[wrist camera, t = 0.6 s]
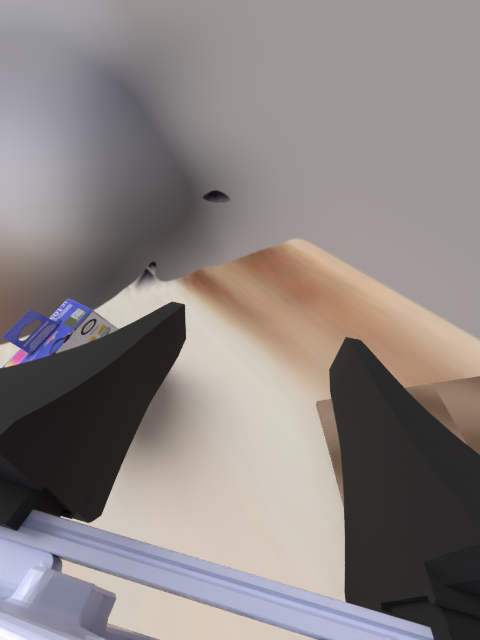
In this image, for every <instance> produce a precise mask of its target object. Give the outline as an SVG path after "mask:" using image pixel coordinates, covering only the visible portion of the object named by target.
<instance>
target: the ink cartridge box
mask: <svg viewBox="0 0 480 640" xmlns="http://www.w3.org/2000/svg"><path fill="white" fill-rule="evenodd" d="M35 320H40V321H41V325H40V326H39V327H38V328H37V329H36V330H35V331H34V332H33V333H32V334H31V335H30V336H29V337H28V338H27V339H26V340H24V341H20V340H18V337H19V335H20V333H21V331H22V330H23V328H24V327H25V326H26V325H28V324H30V323H31V322H33V321H35ZM116 330H119V329H118V328H116V327H115V326H114V325H112V324H111V323H109V322H108V321H107V320H105V319H104V318H103V317H101V316H100V315H98V314H97V313H96V312H94V311H93V310H92V309H90V308H88V307H86V306H83V305H82V304H80V303H78V302H75V301H73V300H70V299H67V300H66V301H65V302H64V303H63V304H62V305H61V306H60V307H59V308H58V309H57V310H56V311H55V313H54V314H53V315H52V316H51V317H50V318H47V317H45V316H43V315H41V314H39V313H37V312H35V311H34V310H30V311H29V312H28V313H27V314H26V315H25V316H24V317H23V318H22V319H21V320H20V321H19V322H18V323H17V324H16V325H15V326H13V327H12V328H11V329H10V330H9V331H8V332H7V333H6V334H5V335H4V336H3V337H2V338H4V339H5V340H8V341H10V342H11V343H13V344H15V345H16V346H18V347H19V348H21V349H20V350H19V351H18V352H17V353H16V354H15V355H14V356H13V357H12V358H11V359H10V360H9V361H8V362H7V363H6V364H5V366H4V367H9V366H13V365H17V364H21V363H24V362H28V361H32V360H36V359H39V358H43V357H46V356H50V355H53V354H56V353H59V352H62V351H65V350H68V349H71V348H74V347H77V346H80V345H83V344H86V343H88V342H91V341H93V340H96V339H98V338H101V337H103V336H106V335H108V334H110V333H112V332H114V331H116ZM4 367H2V368H4Z"/></svg>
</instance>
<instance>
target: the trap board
mask: <svg viewBox="0 0 480 640" xmlns="http://www.w3.org/2000/svg"><path fill="white" fill-rule="evenodd" d="M405 389H406V390H407V391H408V392H409V393H410V394H411V395H412V396H413V397H414V398H415V399H416V400H417V401H418V402H419V403H420V404H421V405H422V406H423V407H424V408H425V409H426V410H427V411H428V412H429V413H431V414H432V415H433V416H434V417H435V418H436V419H437V420H438V421H440V422H441V423H442V424H443V425H444V426H445V427H446V428H447V429H449V430H450V431H451V432H452V433H453V434H455V435H456V436H457V437H458V438H459V439H461V440H462V441H463V442H464V443H465V444H467V445H468V446H469V447H471V448H472V449H473V450H474V451H476V452H477V453H478V454H479V455H480V376H479V377H472V378H466V379H459V380H453V381H446V382H440V383H433V384H427V385H420V386H414V387H407V388H405ZM316 405H317V409H318V413H319V417H320V420H321V424H322V428H323V431H324V435H325V439H326V443H327V446H328V450H329V454H330V457H331V461H332V465H333V468H334V472H335V476H336V480H337V483H338V487H339V491H340V494H341V498H342V502H343V506H344V494H343V476H342V462H341V451H340V443H339V437H338V432H337V426H336V421H335V415H334V410H333V404H332V399H329V400H323V401H317V403H316Z"/></svg>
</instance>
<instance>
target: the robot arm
mask: <svg viewBox="0 0 480 640" xmlns="http://www.w3.org/2000/svg"><path fill="white" fill-rule="evenodd" d="M185 340H186V325H185V304H181V303H176V302H171V303H168V304H167V305H165V306H163V307H161V308H159V309H157V310H155V311H154V312H152V313H150V314H148V315H146V316H144V317H142V318H141V319H139V320H137V321H135V322H133V323H131V324H129V325H127V326H125V327H123V328H121V329H119V330H116V331H114V332H112V333H110V334H108V335H106V336H103V337H101V338H98V339H96V340H93V341H91V342H88V343H86V344H83V345H80V346H77V347H74V348H71V349H68V350H65V351H62V352H59V353H56V354H53V355H50V356H46V357H43V358H39V359H36V360H32V361H28V362H24V363H21V364H17V365H13V366H9V367H4V368H0V640H159V639H156V638H153V637H149V636H146V635H143V634H140V633H137V632H134V631H130V630H127V629H124V628H121V627H118V626H114V625H111V624H108V623H107V621H108V617H109V615H110V612H111V610H112V607H113V605H114V602H115V600H116V595H115V594H114V593H112V592H109V591H107V590H104V589H102V588H100V587H97V586H96V585H95V584H92V583H89V582H86V581H83V580H80V579H77V578H75V577H72V576H69V575H66V574H63V573H61V570H62V561H61V559H63V560H66V561H69V562H72V563H76V564H79V565H82V566H85V567H88V568H92V569H95V570H98V571H101V572H104V573H107V574H111V575H114V576H117V577H120V578H123V579H127V580H130V581H133V582H136V583H139V584H142V585H146V586H149V587H152V588H155V589H158V590H162V591H165V592H168V593H171V594H174V595H178V596H181V597H184V598H187V599H190V600H193V601H197V602H200V603H203V604H206V605H209V606H213V607H216V608H219V609H222V610H225V611H229V612H232V613H235V614H238V615H241V616H244V617H248V618H251V619H254V620H257V621H260V622H264V623H267V624H270V625H273V626H276V627H280V628H283V629H286V630H289V631H292V632H295V633H299V634H302V635H305V636H308V637H311V638H315V639H318V640H480V455H479V454H478V453H477V452H476V451H474V450H473V449H472V448H471V447H469V446H468V445H467V444H465V443H464V442H463V441H462V440H461V439H459V438H458V437H457V436H456V435H455V434H453V433H452V432H451V431H450V430H449V429H447V428H446V427H445V426H444V425H443V424H442V423H441V422H440V421H438V420H437V419H436V418H435V417H434V416H433V415H432V414H431V413H429V412H428V411H427V410H426V409H425V408H424V407H423V406H422V405H421V404H420V403H419V402H418V401H417V400H416V399H415V398H414V397H413V396H412V395H411V394H410V393H409V392H408V391H407V390H406V389H405V388H404V387H403V386H402V385H401V384H400V383H399V382H398V381H397V380H396V379H395V377H394V376H393V375H392V374H391V373H390V372H389V371H388V370H387V369H386V368H385V366H384V365H383V364H382V363H381V362H380V361H379V360H378V359H377V357H376V356H375V355H374V354H373V353H372V352H371V351H370V350H369V348H368V347H367V346H366V345H365V344H364V343H363V342H362V341H361V340H358V339H353V338H348V337H346V338H345V340H344V342H343V344H342V346H341V348H340V350H339V352H338V354H337V356H336V358H335V360H334V362H333V364H332V365H331V367H330V369H329V371H330V392H331V398H332V404H333V410H334V415H335V421H336V426H337V432H338V437H339V443H340V451H341V462H342V476H343V494H344V520H345V599H346V602H343V601H340V600H336V599H333V598H330V597H326V596H323V595H319V594H316V593H313V592H309V591H306V590H303V589H299V588H296V587H293V586H289V585H286V584H282V583H279V582H276V581H272V580H269V579H266V578H262V577H259V576H256V575H252V574H249V573H246V572H242V571H239V570H235V569H232V568H229V567H225V566H222V565H219V564H215V563H212V562H209V561H205V560H202V559H198V558H195V557H192V556H188V555H185V554H182V553H178V552H175V551H172V550H168V549H165V548H161V547H158V546H155V545H151V544H148V543H145V542H141V541H138V540H135V539H131V538H128V537H124V536H121V535H118V534H114V533H111V532H108V531H104V530H101V529H98V528H94V527H91V526H88V525H84V524H81V523H77V522H74V521H71V520H67V519H64V518H61V517H60V516H63V517H66V518H70V519H72V518H73V519H77V520H80V521H84V522H87V523H89V522H92V521H94V520H95V519H97V518H98V517H99V516H101V515H102V512H103V510H104V507H105V504H106V502H107V499H108V497H109V494H110V492H111V489H112V487H113V484H114V482H115V479H116V477H117V474H118V472H119V470H120V467H121V465H122V463H123V460H124V458H125V456H126V453H127V451H128V449H129V446H130V444H131V442H132V440H133V438H134V435H135V433H136V431H137V429H138V427H139V425H140V423H141V420H142V418H143V416H144V414H145V412H146V410H147V408H148V406H149V404H150V402H151V400H152V399H153V397H154V395H155V394H156V392H157V390H158V389H159V387H160V385H161V384H162V382H163V381H164V379H165V377H166V376H167V374H168V372H169V371H170V369H171V367H172V366H173V364H174V363H175V361H176V359H177V357H178V356H179V353H180V351H181V349H182V347H183V344H184V342H185ZM59 558H60V559H59Z"/></svg>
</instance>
